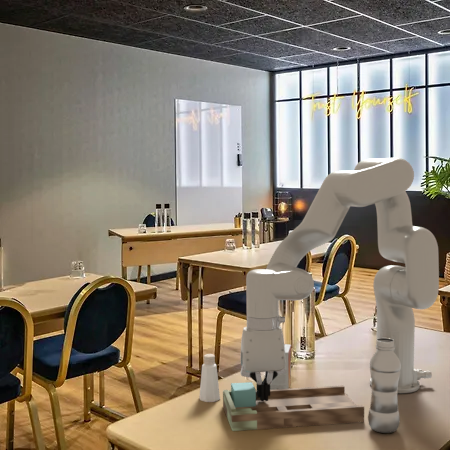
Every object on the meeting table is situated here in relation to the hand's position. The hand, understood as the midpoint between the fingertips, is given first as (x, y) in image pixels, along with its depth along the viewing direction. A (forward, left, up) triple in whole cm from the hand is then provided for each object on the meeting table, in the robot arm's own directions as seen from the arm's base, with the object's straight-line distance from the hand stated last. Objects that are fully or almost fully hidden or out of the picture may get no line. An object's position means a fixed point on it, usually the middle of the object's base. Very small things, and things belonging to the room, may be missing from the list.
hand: (263, 398), depth 143 cm
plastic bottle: (-23, +15, -3) cm, 28 cm away
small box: (-7, -15, -3) cm, 17 cm away
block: (+5, 0, -1) cm, 5 cm away
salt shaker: (+12, -10, -3) cm, 16 cm away
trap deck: (-6, +3, -3) cm, 7 cm away
